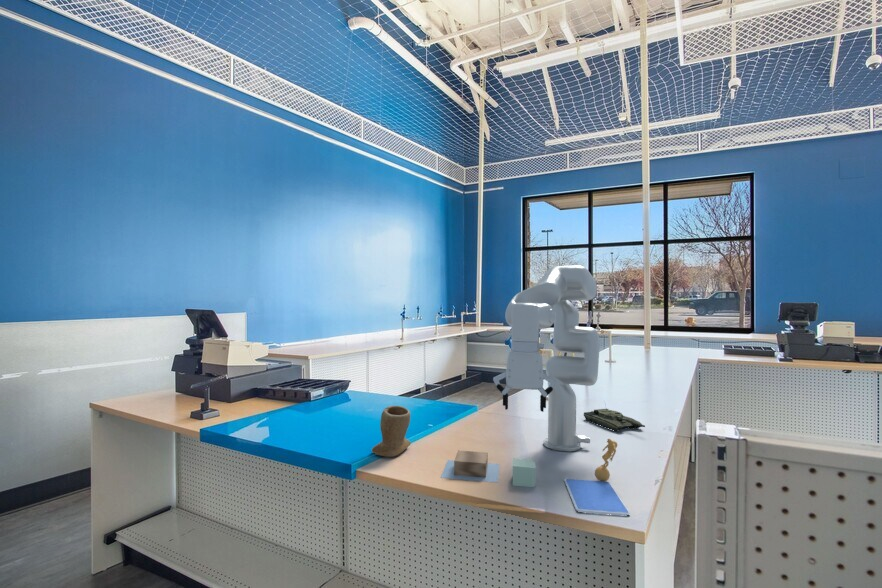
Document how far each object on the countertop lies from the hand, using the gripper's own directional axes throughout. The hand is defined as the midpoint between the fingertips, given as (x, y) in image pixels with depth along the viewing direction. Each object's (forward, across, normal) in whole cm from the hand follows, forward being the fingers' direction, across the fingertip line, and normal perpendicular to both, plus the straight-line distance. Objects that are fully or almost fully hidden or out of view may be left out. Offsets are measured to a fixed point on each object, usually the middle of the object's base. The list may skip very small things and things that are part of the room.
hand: (524, 409), depth 119 cm
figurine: (+21, -23, -7) cm, 32 cm away
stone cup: (+21, +42, -18) cm, 50 cm away
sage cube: (+21, 0, 0) cm, 21 cm away
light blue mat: (+20, +15, -5) cm, 26 cm away
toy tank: (+21, -39, -66) cm, 79 cm away
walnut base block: (+20, +15, -5) cm, 25 cm away
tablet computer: (+21, -18, +4) cm, 28 cm away
